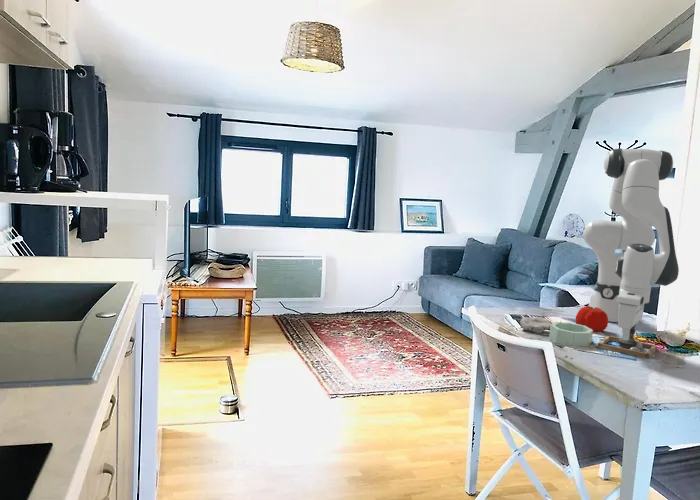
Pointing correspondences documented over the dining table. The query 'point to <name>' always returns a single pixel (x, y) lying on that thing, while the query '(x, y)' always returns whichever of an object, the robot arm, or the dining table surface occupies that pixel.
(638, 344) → the pebble
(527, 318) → the fossil
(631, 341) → the chess piece
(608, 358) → the dining table surface
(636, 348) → the pebble
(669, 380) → the dining table surface
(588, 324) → the tomato
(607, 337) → the oak tray
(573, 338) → the bowl
